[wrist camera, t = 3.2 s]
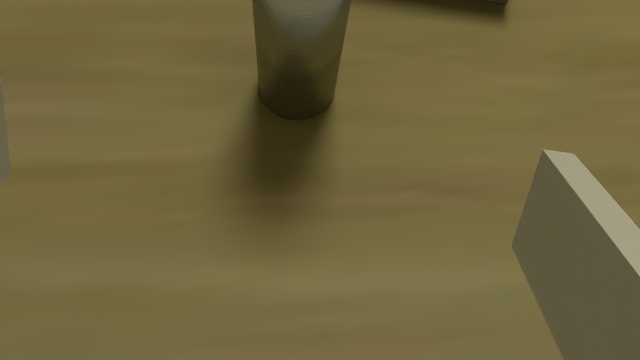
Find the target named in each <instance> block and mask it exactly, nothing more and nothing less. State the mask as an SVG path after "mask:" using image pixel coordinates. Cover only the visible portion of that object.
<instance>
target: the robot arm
mask: <svg viewBox="0 0 640 360" xmlns="http://www.w3.org/2000/svg"><path fill="white" fill-rule="evenodd" d="M10 175H11V169H10V159H9V150H8V140H7V131H6V121H5V111H4V102H3V92H2V83H1V73H0V183H1V182H2V181H4V180H5V179H6V178H7V177H9V176H10ZM511 246H512V248H513V250H514V253H515V255H516V257H517V259H518V261H519V263H520V266H521V268H522V270H523V272H524V274H525V276H526V279H527V281H528V283H529V285H530V287H531V290H532V292H533V294H534V296H535V298H536V300H537V303H538V305H539V307H540V309H541V311H542V313H543V316H544V318H545V320H546V322H547V324H548V326H549V329H550V331H551V333H552V335H553V337H554V339H555V342H556V344H557V346H558V348H559V350H560V353H561V355H562V357H563V359H564V360H640V229H639V228H638V227H637V226H636V224H635V223H634V222H633V221H632V220H631V219H630V218H629V216H628V215H627V214H626V213H625V212H624V211H623V210H622V208H621V207H620V206H619V205H618V204H617V203H616V202H615V200H614V199H613V198H612V197H611V196H610V195H609V194H608V192H607V191H606V190H605V189H604V188H603V187H602V185H601V184H600V183H599V182H598V181H597V180H596V179H595V177H594V176H593V175H592V174H591V173H590V172H589V171H588V169H587V168H586V167H585V166H584V165H583V164H582V163H581V161H580V160H579V159H578V158H577V157H576V156H575V155H574V154H571V153H564V152H557V151H550V150H542V153H541V156H540V159H539V162H538V165H537V169H536V172H535V175H534V178H533V181H532V184H531V187H530V190H529V193H528V196H527V199H526V202H525V205H524V208H523V212H522V215H521V218H520V221H519V224H518V227H517V230H516V233H515V236H514V239H513V242H512V245H511Z"/></svg>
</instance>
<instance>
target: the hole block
mask: <svg viewBox="0 0 640 360" xmlns="http://www.w3.org/2000/svg"><path fill="white" fill-rule="evenodd" d="M482 1H489V2H496V3H502V4H506V3H507V1H508V0H482Z"/></svg>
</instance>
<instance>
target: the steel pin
mask: <svg viewBox="0 0 640 360" xmlns="http://www.w3.org/2000/svg"><path fill="white" fill-rule="evenodd" d="M252 3H253V16H254V29H255V42H256V54H257V67H258V80H259V91H260V95H261V98H262V100H263V102H264V103H265V104H266V106H267V107H268V108H269V109H270V110H271V111H272V112H274V113H275V114H277V115H279V116H281V117H283V118H286V119H291V120H304V119H309V118H312V117H314V116H317V115H318V114H320V113H321V112H323V111H324V110H325V109H326V108H327V107H328V106H329V104H330V103H331V101H332V99H333V96H334V92H335V86H336V81H337V75H338V70H339V64H340V59H341V53H342V48H343V42H344V37H345V31H346V26H347V20H348V15H349V9H350V4H351V0H252Z"/></svg>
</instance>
